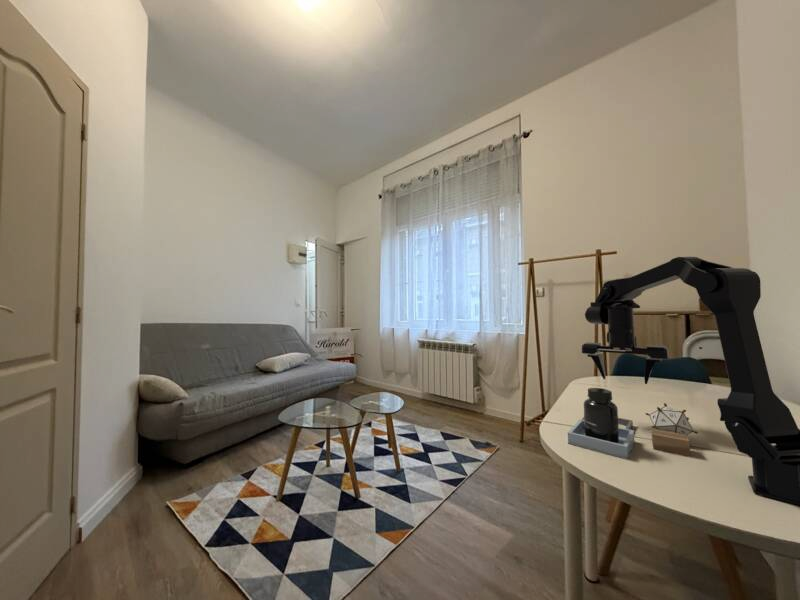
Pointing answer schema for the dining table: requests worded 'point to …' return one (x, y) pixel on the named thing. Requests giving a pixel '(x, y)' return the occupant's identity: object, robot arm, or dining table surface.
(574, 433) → the parts tray
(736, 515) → the dining table surface
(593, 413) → the supplement bottle
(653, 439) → the block
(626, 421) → the grey square frame
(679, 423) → the game die
